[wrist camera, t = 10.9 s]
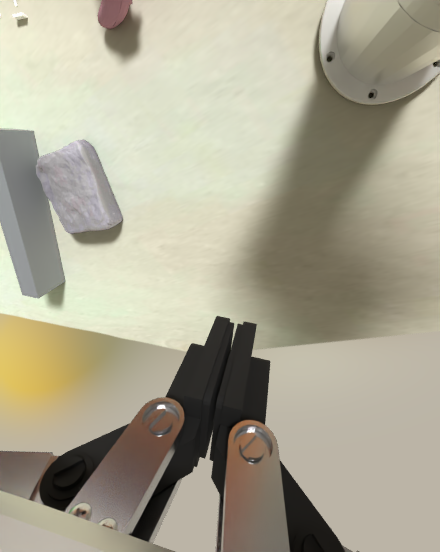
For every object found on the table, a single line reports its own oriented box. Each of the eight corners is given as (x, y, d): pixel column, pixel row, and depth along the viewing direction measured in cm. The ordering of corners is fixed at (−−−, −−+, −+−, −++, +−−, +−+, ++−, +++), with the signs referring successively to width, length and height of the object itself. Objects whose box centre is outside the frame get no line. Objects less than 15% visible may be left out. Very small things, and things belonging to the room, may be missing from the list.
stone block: (88, 231, 45) (130, 222, 40) (62, 240, 41) (106, 231, 37) (54, 156, 41) (97, 136, 36) (23, 159, 37) (66, 136, 32)
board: (15, 129, 38) (-29, 127, 33) (33, 130, 37) (-8, 129, 32) (50, 278, 49) (22, 294, 44) (65, 281, 49) (38, 298, 43)
